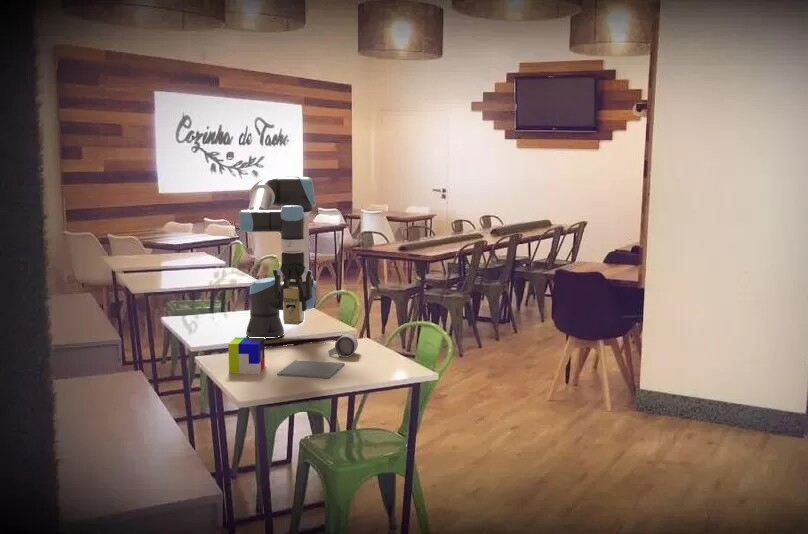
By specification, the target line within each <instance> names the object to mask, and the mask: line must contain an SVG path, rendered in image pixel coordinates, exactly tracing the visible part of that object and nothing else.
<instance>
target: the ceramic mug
mask: <svg viewBox="0 0 808 534" xmlns="http://www.w3.org/2000/svg"><path fill="white" fill-rule="evenodd" d="M358 347H359V342H358V339H357V337H356V336H354V335H352V334H349V333H347V334H343V335H342V336H339V338H337V340H336V341H335V344H334V347H332V348H331V349H329V350H328V354H329V356H330V355H334V354H337V356H340V357H341V358H350V357H351V356H352V355H353V354H354V353H355V352H356V351H357V349H358Z"/></svg>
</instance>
